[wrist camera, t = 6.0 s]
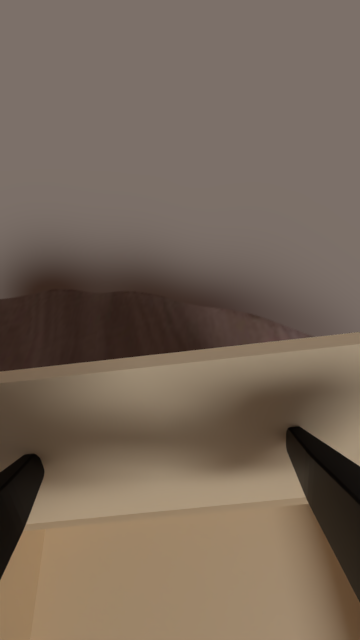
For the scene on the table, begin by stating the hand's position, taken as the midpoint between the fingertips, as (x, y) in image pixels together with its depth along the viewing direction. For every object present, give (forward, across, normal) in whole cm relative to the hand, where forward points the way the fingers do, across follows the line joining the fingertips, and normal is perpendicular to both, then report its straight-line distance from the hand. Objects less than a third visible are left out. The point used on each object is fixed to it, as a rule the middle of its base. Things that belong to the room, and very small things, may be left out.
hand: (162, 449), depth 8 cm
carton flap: (+1, 0, +1) cm, 2 cm away
